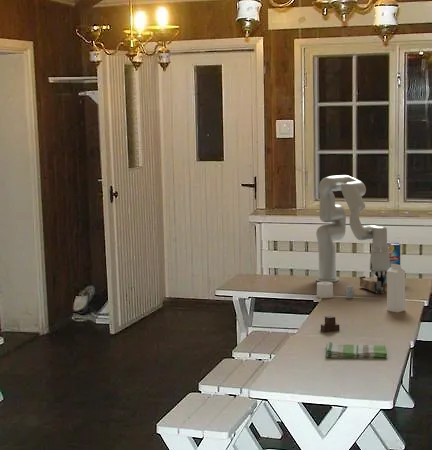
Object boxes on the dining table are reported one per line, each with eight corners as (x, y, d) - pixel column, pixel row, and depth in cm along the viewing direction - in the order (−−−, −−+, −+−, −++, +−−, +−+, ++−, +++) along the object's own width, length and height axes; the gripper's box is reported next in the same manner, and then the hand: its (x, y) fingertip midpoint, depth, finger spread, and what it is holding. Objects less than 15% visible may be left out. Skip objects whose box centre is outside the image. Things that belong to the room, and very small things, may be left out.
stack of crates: (322, 338, 349) (322, 322, 349) (308, 330, 364) (308, 315, 363) (355, 335, 353) (355, 319, 353) (340, 327, 368) (340, 312, 367)
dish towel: (326, 348, 335) (326, 339, 334) (385, 348, 331) (385, 339, 331) (325, 359, 318) (325, 350, 317) (387, 360, 314) (387, 351, 314)
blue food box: (400, 284, 456) (400, 244, 454) (380, 285, 457) (379, 245, 454) (398, 282, 463) (398, 242, 460) (378, 282, 464) (378, 243, 461)
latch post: (346, 297, 427) (346, 286, 426) (350, 297, 427) (350, 285, 427) (348, 298, 424) (348, 286, 424) (352, 298, 425) (352, 286, 424)
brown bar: (359, 286, 451) (359, 276, 451) (364, 285, 452) (364, 276, 452) (374, 291, 435) (374, 281, 434) (379, 291, 436) (379, 281, 435)
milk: (396, 312, 390) (396, 265, 388) (386, 310, 395) (386, 264, 392) (405, 310, 394) (405, 264, 391) (395, 308, 399) (395, 262, 396)
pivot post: (375, 293, 435) (375, 281, 434) (379, 293, 435) (379, 280, 435) (377, 294, 432) (377, 282, 432) (382, 294, 433) (381, 281, 432)
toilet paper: (327, 293, 440) (327, 280, 439) (335, 297, 429) (335, 283, 428) (312, 294, 438) (312, 281, 437) (320, 298, 427) (320, 285, 427)
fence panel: (382, 292, 436) (382, 280, 435) (399, 291, 439) (399, 279, 438) (385, 293, 433) (385, 281, 433) (401, 292, 436) (401, 280, 435)
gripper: (389, 248, 448) (389, 282, 450) (363, 250, 444) (364, 284, 446) (396, 249, 441) (396, 284, 443) (370, 251, 437) (371, 286, 439)
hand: (380, 284), depth 444 cm, fingers closed
